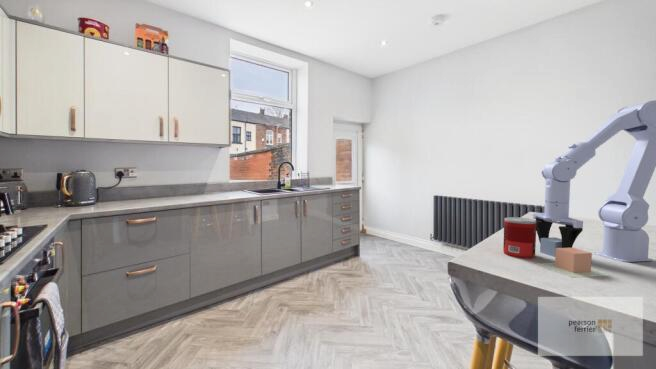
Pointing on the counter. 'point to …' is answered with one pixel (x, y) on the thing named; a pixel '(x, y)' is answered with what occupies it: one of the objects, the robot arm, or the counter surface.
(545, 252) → the blue brick
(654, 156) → the robot arm
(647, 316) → the counter surface
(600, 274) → the plate
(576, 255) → the terracotta brick
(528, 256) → the canned food
